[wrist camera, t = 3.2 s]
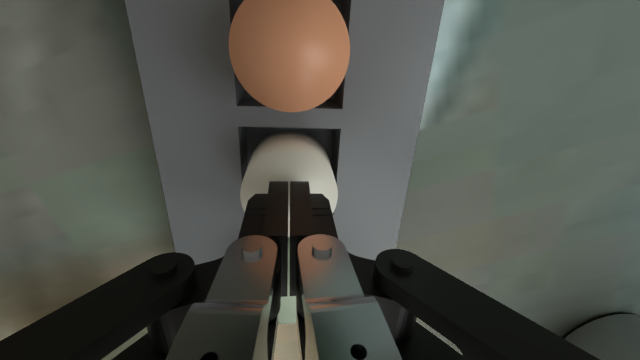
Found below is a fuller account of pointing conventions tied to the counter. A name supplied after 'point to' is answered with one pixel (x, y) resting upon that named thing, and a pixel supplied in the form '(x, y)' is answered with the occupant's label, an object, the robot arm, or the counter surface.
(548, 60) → the counter surface
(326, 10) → the terracotta button
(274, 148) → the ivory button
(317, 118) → the button panel
